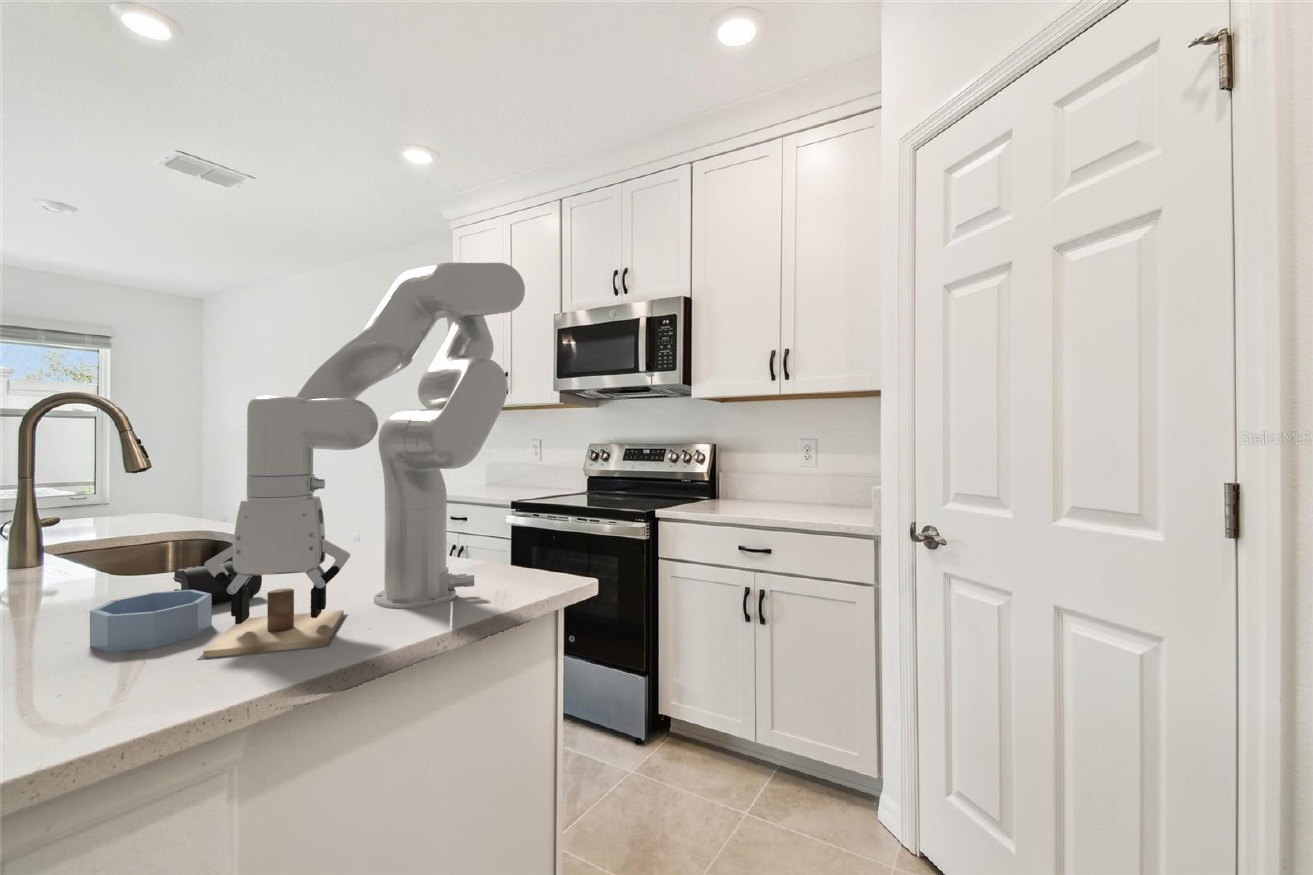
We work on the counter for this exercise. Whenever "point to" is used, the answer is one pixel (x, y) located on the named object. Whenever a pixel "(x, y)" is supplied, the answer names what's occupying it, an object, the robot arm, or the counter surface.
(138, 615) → the bowl
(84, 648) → the counter surface
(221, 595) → the end cap
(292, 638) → the lid
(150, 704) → the counter surface
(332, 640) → the mat
